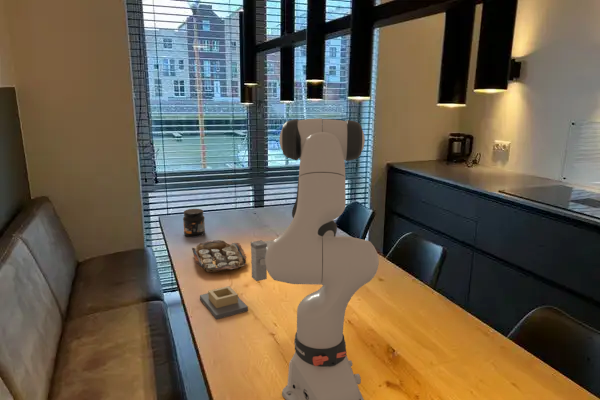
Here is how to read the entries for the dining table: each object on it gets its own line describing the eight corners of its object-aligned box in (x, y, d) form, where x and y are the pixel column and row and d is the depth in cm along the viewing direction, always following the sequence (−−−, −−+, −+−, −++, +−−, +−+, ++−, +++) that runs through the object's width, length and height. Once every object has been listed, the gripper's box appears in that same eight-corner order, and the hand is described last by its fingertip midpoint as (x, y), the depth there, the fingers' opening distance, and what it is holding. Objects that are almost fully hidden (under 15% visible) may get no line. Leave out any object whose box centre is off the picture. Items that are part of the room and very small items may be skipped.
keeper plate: (247, 310, 144) (247, 298, 143) (216, 319, 138) (215, 306, 137) (229, 291, 157) (229, 280, 156) (199, 299, 152) (199, 287, 151)
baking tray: (255, 272, 175) (255, 259, 174) (201, 281, 166) (201, 268, 165) (234, 248, 202) (234, 236, 200) (187, 254, 193) (186, 243, 191)
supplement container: (180, 233, 220) (178, 210, 217) (198, 229, 227) (197, 207, 224) (190, 238, 212) (189, 215, 210) (209, 234, 219) (208, 211, 216)
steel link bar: (267, 279, 139) (266, 243, 136) (256, 281, 137) (255, 245, 134) (261, 274, 142) (261, 240, 139) (251, 277, 141) (250, 242, 138)
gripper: (279, 233, 153) (242, 240, 146) (310, 252, 136) (270, 260, 129) (279, 250, 154) (243, 258, 147) (309, 270, 137) (271, 280, 130)
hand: (256, 259), depth 138 cm, fingers closed on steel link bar, 4 cm apart
